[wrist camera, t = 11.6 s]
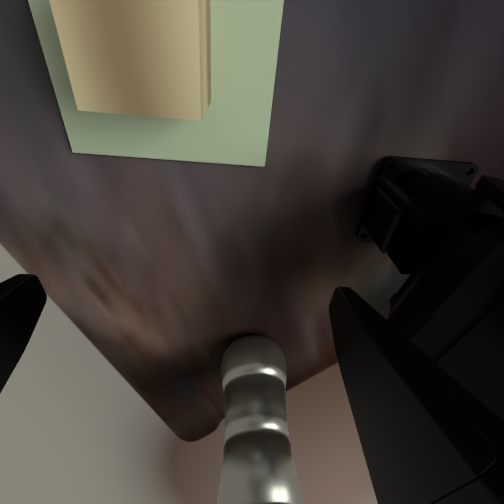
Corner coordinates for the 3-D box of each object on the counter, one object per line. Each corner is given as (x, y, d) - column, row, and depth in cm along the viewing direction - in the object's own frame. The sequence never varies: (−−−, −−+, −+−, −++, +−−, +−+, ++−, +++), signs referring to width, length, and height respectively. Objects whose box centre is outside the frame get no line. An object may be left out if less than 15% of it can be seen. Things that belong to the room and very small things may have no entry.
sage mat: (297, -126, 11) (298, -131, 11) (264, 164, 18) (264, 166, 18) (-18, -176, 10) (-26, -182, 10) (75, 150, 18) (72, 152, 17)
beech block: (211, -20, 13) (197, -50, 9) (211, 101, 16) (200, 120, 12) (98, -34, 12) (30, -72, 8) (120, 93, 15) (77, 110, 11)
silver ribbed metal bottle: (210, 339, 30) (174, 689, 14) (267, 318, 28) (304, 691, 12) (240, 368, 33) (239, 673, 17) (292, 351, 31) (347, 673, 15)
